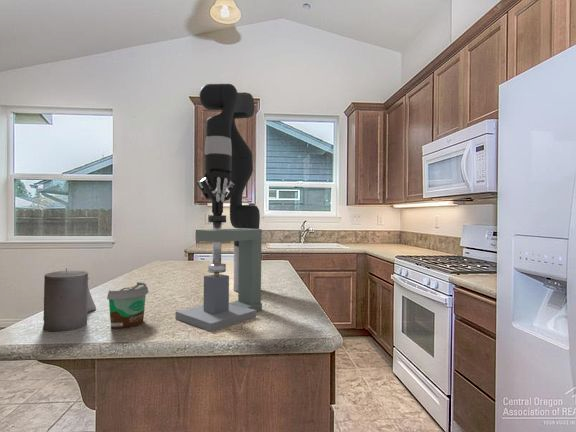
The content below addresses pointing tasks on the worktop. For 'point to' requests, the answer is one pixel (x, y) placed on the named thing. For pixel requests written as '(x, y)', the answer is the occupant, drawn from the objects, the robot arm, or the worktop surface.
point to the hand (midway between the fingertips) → (217, 215)
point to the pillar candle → (65, 300)
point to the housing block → (216, 293)
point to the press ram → (217, 245)
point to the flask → (90, 302)
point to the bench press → (247, 281)
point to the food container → (127, 306)
